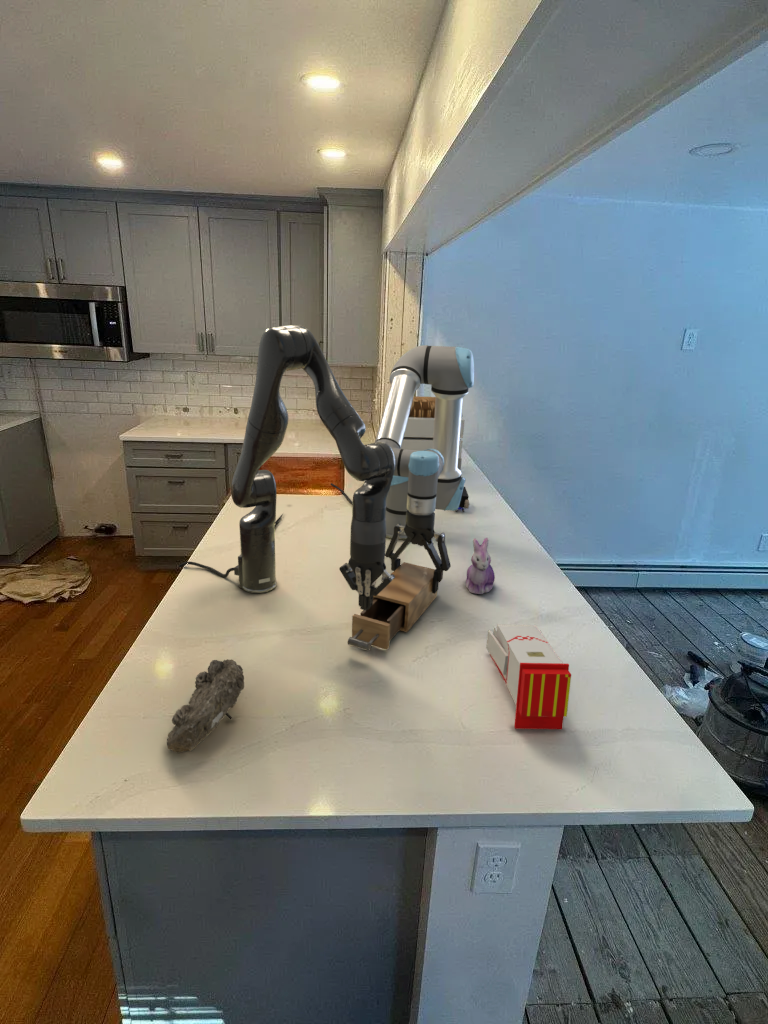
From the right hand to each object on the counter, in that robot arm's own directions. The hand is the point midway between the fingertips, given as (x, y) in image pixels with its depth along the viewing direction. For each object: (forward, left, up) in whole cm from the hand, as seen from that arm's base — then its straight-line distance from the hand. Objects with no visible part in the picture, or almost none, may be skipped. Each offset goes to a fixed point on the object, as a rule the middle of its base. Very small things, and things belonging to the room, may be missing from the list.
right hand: (415, 586), depth 155 cm
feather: (-74, +2, -3) cm, 74 cm away
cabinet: (+3, -6, -3) cm, 8 cm away
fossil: (+12, -64, -3) cm, 65 cm away
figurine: (+7, +19, -3) cm, 21 cm away
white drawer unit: (-90, +89, -3) cm, 126 cm away
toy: (+42, -9, -3) cm, 43 cm away
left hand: (+13, -28, +8) cm, 32 cm away
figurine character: (-44, +66, -3) cm, 79 cm away
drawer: (+9, -19, -2) cm, 21 cm away
